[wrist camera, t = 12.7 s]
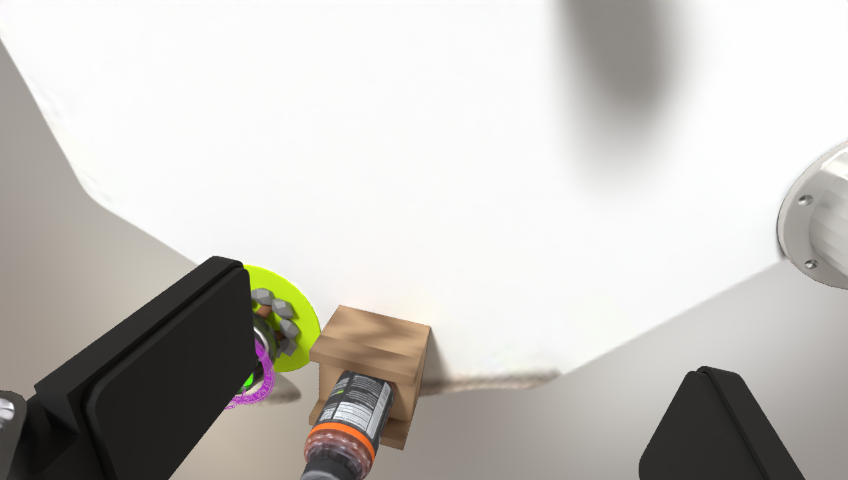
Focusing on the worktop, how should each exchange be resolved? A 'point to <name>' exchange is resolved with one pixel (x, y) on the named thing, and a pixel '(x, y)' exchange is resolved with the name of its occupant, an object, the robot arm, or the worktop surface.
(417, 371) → the pedestal
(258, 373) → the toy cauldron
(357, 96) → the worktop surface
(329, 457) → the supplement bottle
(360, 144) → the worktop surface
